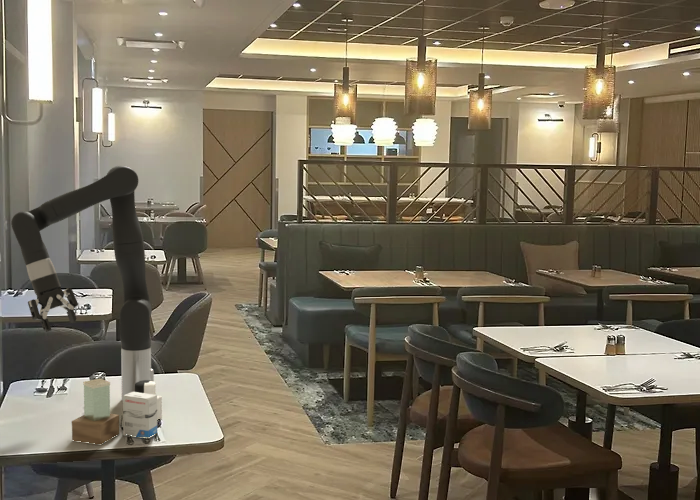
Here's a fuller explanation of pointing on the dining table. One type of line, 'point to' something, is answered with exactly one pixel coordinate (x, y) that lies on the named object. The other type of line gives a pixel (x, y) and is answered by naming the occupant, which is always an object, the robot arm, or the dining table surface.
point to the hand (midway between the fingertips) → (61, 326)
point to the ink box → (139, 414)
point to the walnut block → (95, 429)
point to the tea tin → (96, 399)
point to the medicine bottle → (150, 388)
